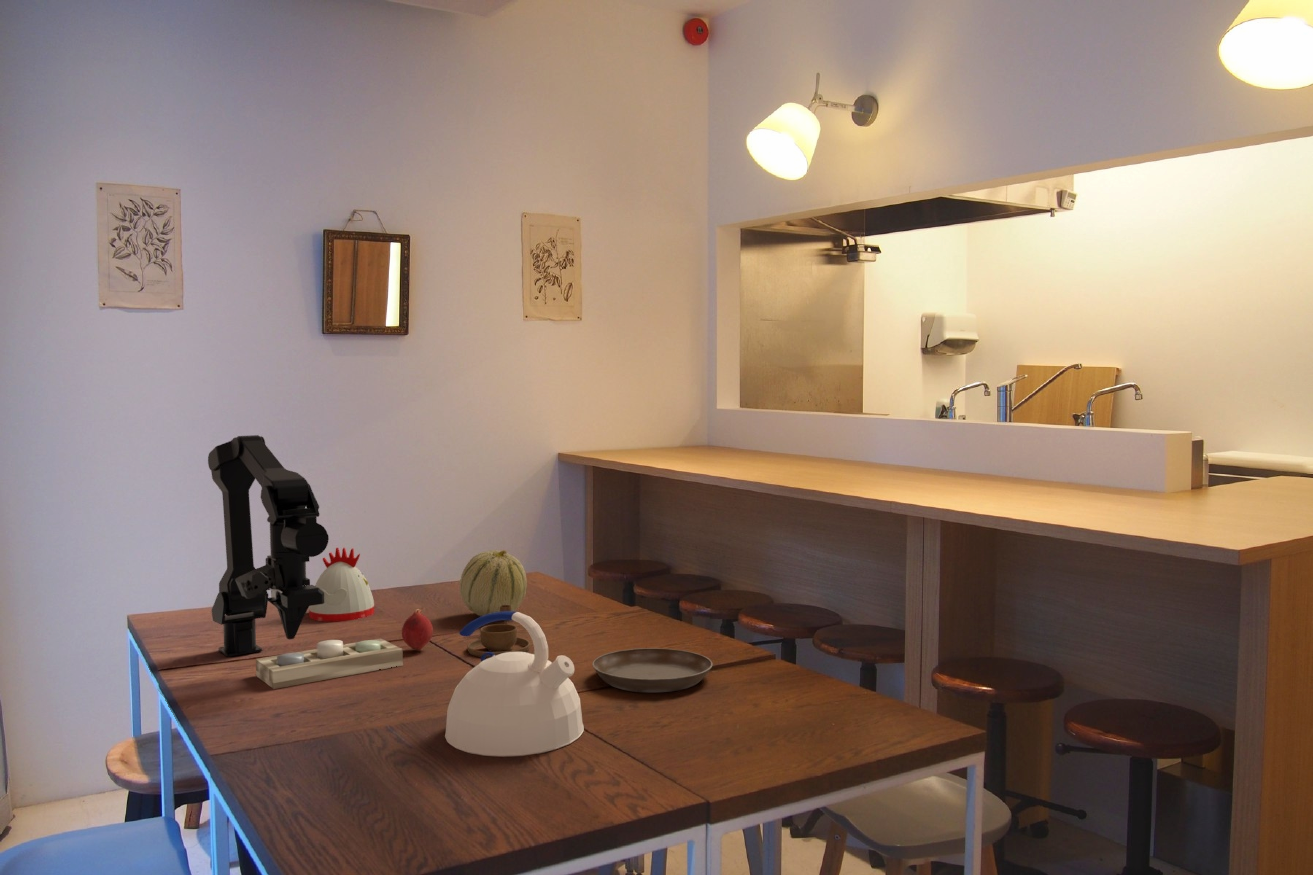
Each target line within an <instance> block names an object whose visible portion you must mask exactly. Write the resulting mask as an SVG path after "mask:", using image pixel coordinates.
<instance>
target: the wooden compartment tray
mask: <svg viewBox="0 0 1313 875" xmlns="http://www.w3.org/2000/svg"><path fill="white" fill-rule="evenodd" d="M374 640H377V641H380V648H381V650H375V651H369V652H363V653H358V652H356V648H355V644H356V643H357V642H351V643H350V642H349V643H346V644H344V643H343V656H340V657H334V658H328V659H318V658H317V648H314V649H309V650H303V651H297V652H294V653H302V654H304V663H299V664H293V665H287V666H281V667H279V666H278V665H277V656H279V655H280V654H277V655H272V656H265V657H260V658H255V676H256V677H257V678H258V679H260V680H261V681H262V682H263V683H265V684H266V685H267V686H269V687H271V688H272V689H273V690H275V689H276V690H277V689H281V688H287V687H292V686H298V685H305V684H310V683H315V682H320V681H325V680H331V679H336V678H341V677H347V676H348V677H349V676H353V675H358V674H365V673H369V672H374V671H380V670H379V669H381V670H385V669H391V667H392V668H396V666H397V667H403V666H404V663H403V662H404V661H403V660H404V659H403V658H404V657H403V656H404V654H403V651H404V650H403V648H402V647H399V646H397V645H395V644H393V643H390V641H387V640H385V639H383V638H376V639H374Z"/></svg>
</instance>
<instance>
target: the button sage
mask: <svg viewBox="0 0 1313 875" xmlns="http://www.w3.org/2000/svg"><path fill="white" fill-rule="evenodd" d="M355 643H356V642H355ZM355 648H356V652H358V653H363V652H369V651H375V650H381V648H380V641H377V640H375V639H370V640H368V639H367V640H361V641H358V642H357V643H356V644H355Z"/></svg>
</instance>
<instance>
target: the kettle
mask: <svg viewBox="0 0 1313 875" xmlns="http://www.w3.org/2000/svg"><path fill="white" fill-rule="evenodd" d="M504 620H508V621H510V622H516V623H518V624H520V625H521V626H522V627H523V628H524V629H525V630H526V631H527V633H528V634H529V636H530V638H531V641H532V645H533V648H534V650H535V653H534V654H531V653H529V652H507V653H502V654H499V655H496V656H495V654H494V653H492V652H490V651H486V652H487V653H485V654H483V655H482V657H480V662H479V663H478V664H477V665H475V666H474V667H473V668H471V669H470V670H469V671H468V672H467V673H466V674H465V675H464V677H462V679H461V680H460V682H459V683H458V684H457V686H456V687H455V689H454V691H453V693H452V696H451V698H450V701H449V703H448V706H447V709H446V710H447V712H446V723H445V724H446V726H445V735H444V738H445V739H446V742H447V743H448V744H449V745H450V746H452V747H453V748H455V749H456V750H459V751H462V752H465V753H468V754H473V755H479V756H484V757H485V756H486V757H503V758H506V757H523V756H531V755H540V754H544V753H547V752H551V751H555V750H558V749H561V748H564V747H567V746H569V745H570V744H572V743H573V742H575V741H577V740H579V738H581V735H582V734H583V732H585V731H584V730H585V729H584V723H583V715H582V706H581V698H580V696H579V694H578V691H577V689H576V687H575V685H574V683H573V682H572V680H571V679H570V678H569V677H572V676H573V675H574V673H575V665H574V662H573V661H572V660H571V658H570V657H568V656H566V655H563V654H562V655H557V657H556V658H555V660H553V662H552V661H551V660H549V645H548V642H547V638H546V635H545V633H544V631H543V629H542V628H541V626H540V625H539V623H537V622H536V621H535V620H534V619H533V618H532V617H531V616H529V615H527V614H524V613H522V612H520V611H517V610H515V611H503V612H495V613H490V614H487V615H484V616H478V618H475V619H473V620H471V621H470V622H468V623H467V624H466V625H465V626H464V627H463V628H462V629H461V630H460V631H459V635H460V636H463V637H469V636H471V635H473V633H474V632H476V631H477V630H478V629H479V628H482V626H483V627H484V626H486V625H488V624H490V623H494V622H498V621H504ZM486 655H490V656H491V658H485V657H486Z"/></svg>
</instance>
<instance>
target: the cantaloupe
mask: <svg viewBox="0 0 1313 875" xmlns="http://www.w3.org/2000/svg"><path fill="white" fill-rule="evenodd" d="M527 580H528V579H527V574H526V571H525V568H524V566H523V564H522V563H521V561H520V560H519V559H517V558H516V557H515V556H513V555H511V554H510V553H508V552H507V550H506V549H502V550H497V549H496V550H494V549H492V550H487V551H483V552H478V554H476V555H475V556H473V557H472V558H471V559H470V560H469V561H468V562H467V564H466V565H465V567H464V569H463V571H462V573H461V576H460V579H459V592H460V597H461V599H462V601H463V603H464V605H465V606H466V607H467V609H468V610H470V611H471V612H473V614H475V615H477V616H478V617H481V616H484V615H487V614H490V613H495V612H500V606H501V605H511V608H512V611H517V609H518V608H519V607H520V606H521V605H522V603H523V602H524V599H525V597H526V595H527V594H526V592H527V589H528V588H527V586H528V585H527V584H528V581H527Z"/></svg>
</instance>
